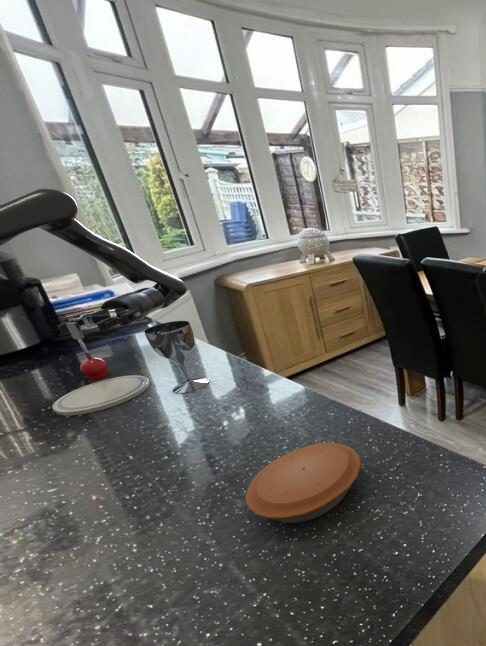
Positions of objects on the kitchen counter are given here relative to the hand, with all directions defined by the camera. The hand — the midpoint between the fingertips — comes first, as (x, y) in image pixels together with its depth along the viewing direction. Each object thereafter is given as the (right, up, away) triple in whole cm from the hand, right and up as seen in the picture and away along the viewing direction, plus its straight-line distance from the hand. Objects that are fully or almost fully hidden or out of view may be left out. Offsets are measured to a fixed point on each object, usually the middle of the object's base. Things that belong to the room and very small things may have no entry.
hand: (80, 328), depth 96 cm
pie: (+75, -27, -35) cm, 87 cm away
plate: (+12, -16, -5) cm, 20 cm away
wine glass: (+29, -14, -2) cm, 32 cm away
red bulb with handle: (+1, -12, +4) cm, 13 cm away
